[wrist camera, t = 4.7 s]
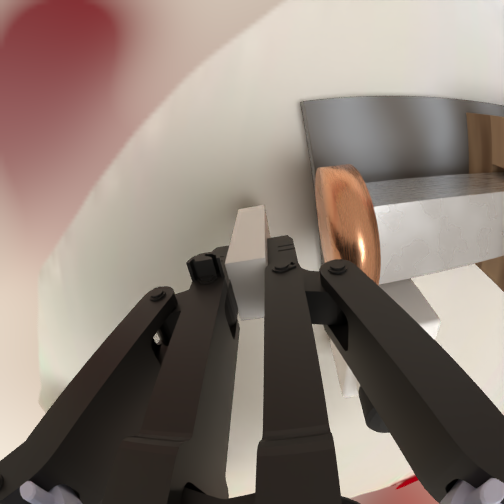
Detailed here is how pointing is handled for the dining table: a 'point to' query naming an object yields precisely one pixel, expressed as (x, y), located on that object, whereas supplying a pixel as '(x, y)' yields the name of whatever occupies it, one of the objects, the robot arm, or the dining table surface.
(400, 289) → the medicine bottle
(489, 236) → the shaft
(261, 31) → the dining table surface
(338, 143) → the bearing block
